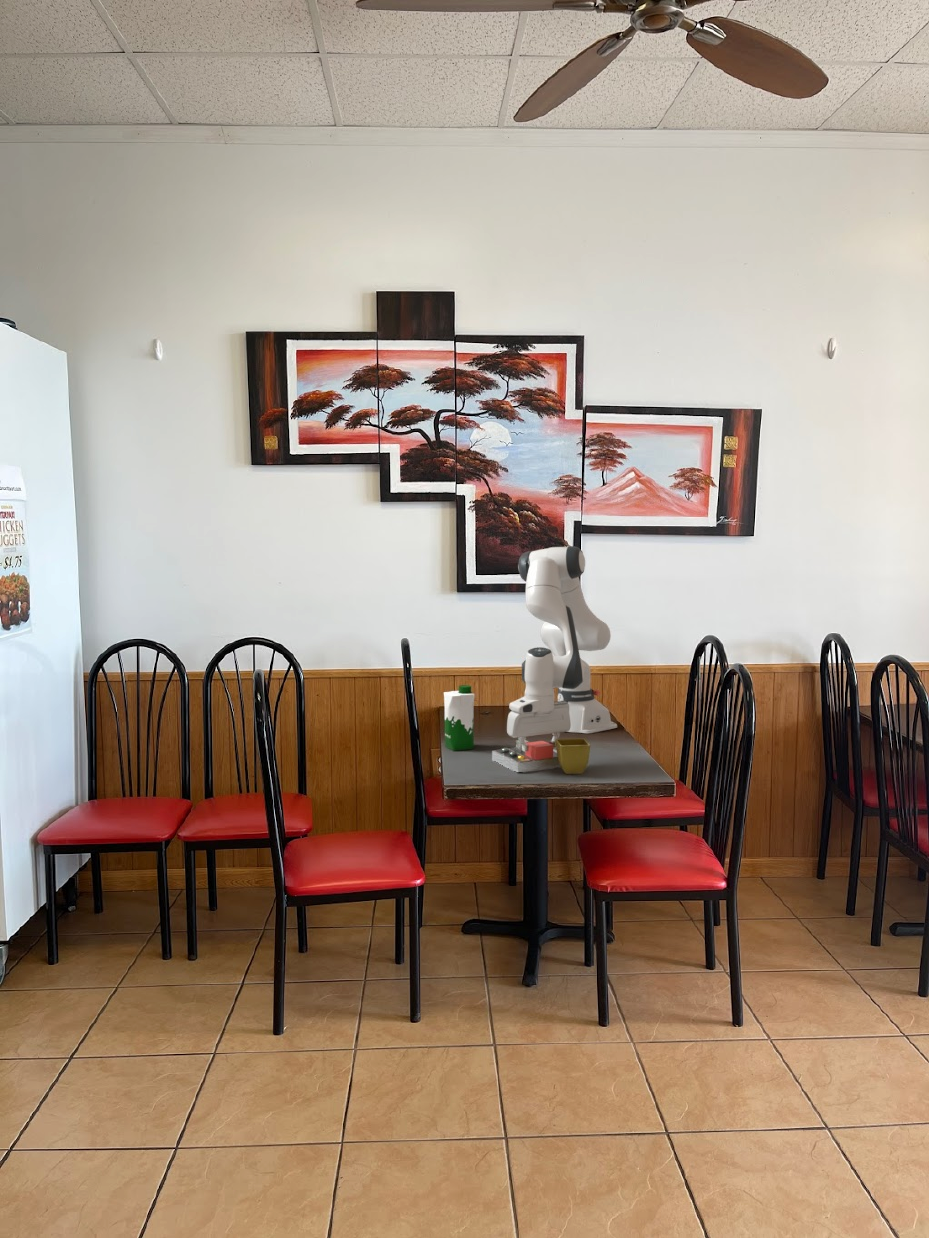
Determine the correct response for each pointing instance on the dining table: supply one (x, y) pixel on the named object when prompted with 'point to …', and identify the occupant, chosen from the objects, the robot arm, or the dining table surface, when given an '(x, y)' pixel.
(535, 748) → the cap
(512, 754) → the breaker panel
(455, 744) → the milk carton
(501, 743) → the dining table surface
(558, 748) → the flower pot
